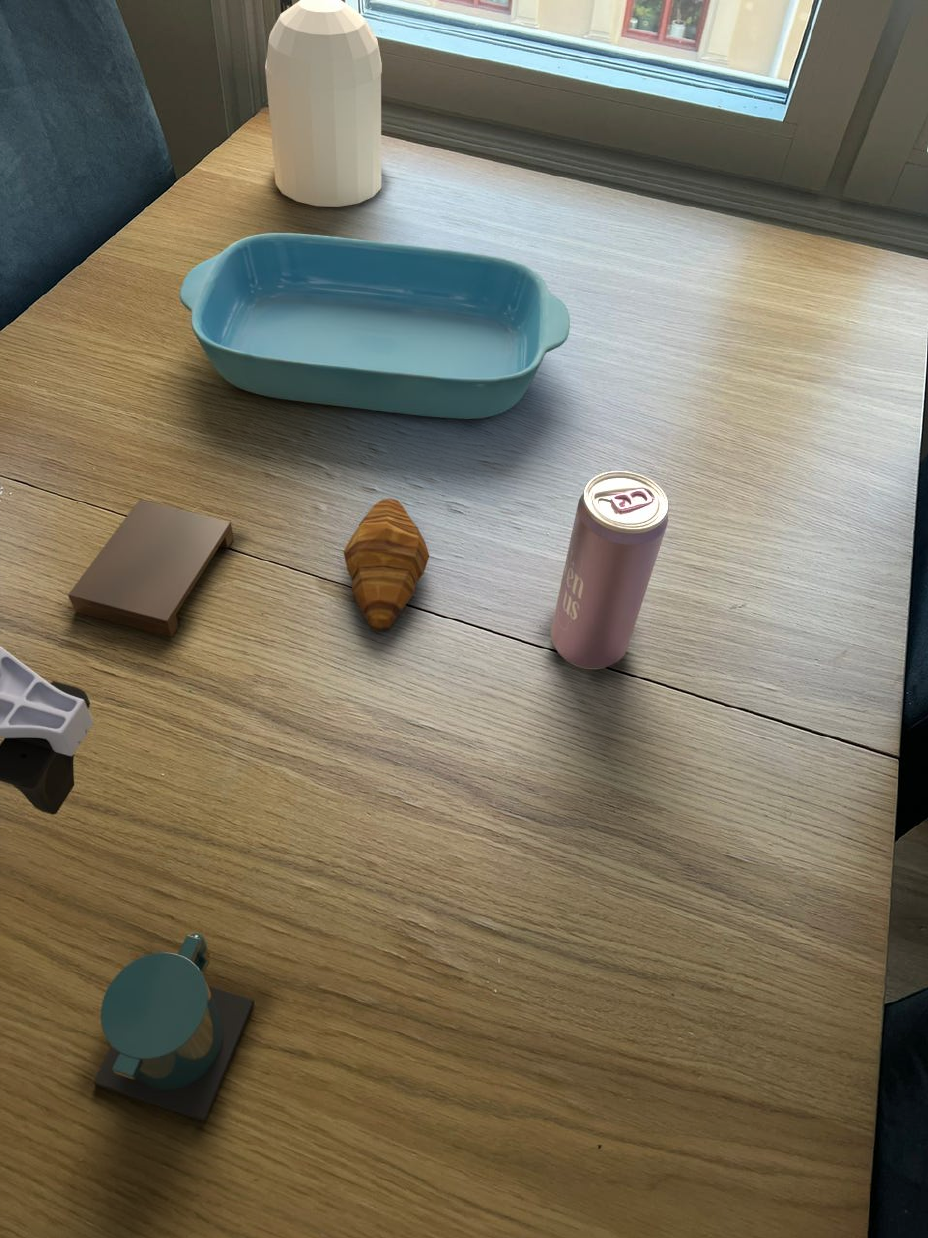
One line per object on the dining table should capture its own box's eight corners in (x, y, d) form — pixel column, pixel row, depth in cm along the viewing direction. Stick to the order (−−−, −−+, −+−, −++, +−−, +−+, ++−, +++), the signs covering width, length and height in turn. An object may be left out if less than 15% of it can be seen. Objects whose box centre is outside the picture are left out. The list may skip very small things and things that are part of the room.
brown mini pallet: (74, 612, 71) (67, 594, 69) (144, 516, 78) (139, 498, 76) (172, 638, 70) (167, 621, 68) (234, 538, 77) (230, 521, 75)
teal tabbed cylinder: (101, 1088, 50) (72, 1056, 45) (169, 948, 54) (149, 907, 50) (191, 1118, 49) (171, 1089, 44) (252, 974, 54) (239, 935, 49)
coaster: (94, 1085, 50) (92, 1083, 50) (151, 970, 54) (150, 967, 54) (205, 1122, 49) (203, 1120, 49) (254, 1002, 53) (253, 999, 53)
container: (391, 164, 121) (392, -15, 106) (371, 213, 113) (369, 26, 97) (290, 151, 122) (276, -28, 106) (262, 199, 113) (243, 11, 98)
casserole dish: (561, 317, 101) (571, 255, 95) (559, 451, 86) (570, 387, 81) (222, 283, 101) (212, 219, 95) (163, 411, 86) (148, 345, 81)
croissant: (425, 639, 71) (427, 596, 67) (336, 635, 71) (333, 591, 67) (431, 516, 80) (433, 471, 76) (351, 512, 79) (349, 467, 76)
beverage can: (640, 661, 71) (689, 519, 59) (570, 682, 69) (606, 540, 58) (604, 605, 74) (644, 460, 63) (537, 623, 73) (565, 478, 61)
